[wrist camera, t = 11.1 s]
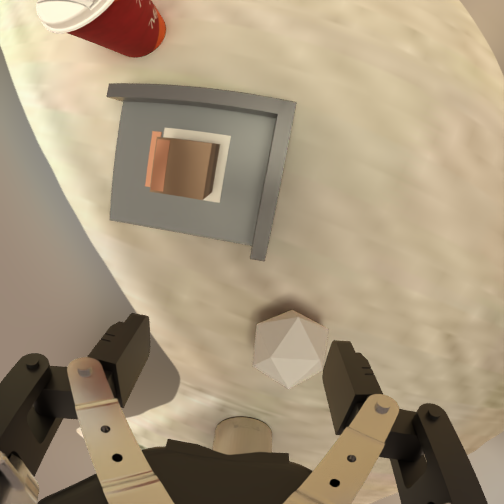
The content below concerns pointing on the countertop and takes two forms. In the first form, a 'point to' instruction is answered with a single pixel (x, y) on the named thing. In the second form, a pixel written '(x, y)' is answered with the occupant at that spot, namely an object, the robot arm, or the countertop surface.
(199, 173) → the walnut block
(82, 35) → the coffee cup
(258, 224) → the board
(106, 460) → the robot arm
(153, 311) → the countertop surface
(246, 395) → the countertop surface
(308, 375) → the die
